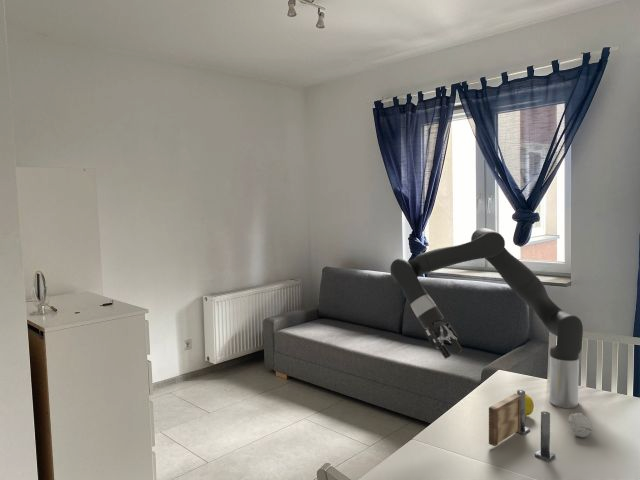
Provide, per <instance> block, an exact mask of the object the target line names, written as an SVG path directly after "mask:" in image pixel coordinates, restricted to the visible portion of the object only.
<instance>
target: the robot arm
mask: <svg viewBox="0 0 640 480" xmlns="http://www.w3.org/2000/svg"><path fill="white" fill-rule="evenodd" d="M505 246H506V241H505V239H504V237H503V236H502V234H501V233H499V232H498V231H496V230H494V229H491V228H487V227H486V228H485V227H482V228H478V229H475V230H474V232H473V233H472V234H471V237H470V241H468V242H465V243H462V244H458V245H451V246H445V247H439V248H434V249H432V250H428V251H426V252H422V253H420V254H418V255H416V256H415V257H414V258H413V259H411V260H406V259H404V258H397V259H395V260H392V262H391V264H390V268H389V270H390V271H389V272H390V277H391V279H392V280H393V281H394V282H396V283H398V285H399V287H400V288H401V290H402V292H403V295H404V298H405V299H406V300H407V302H408V304H409V305H410V308H411V309H412V311H413V313H414V315H415V317H416V318H417V320H418V321H419V323H420V324H421V326H422V328H423V329H425V330H424V335H425V336H426V338H427V339H428V342H429V343H430V344H431V346H432V348H433V349H435V348H436V349H438V350H439V351H440V353H441V354H442V356H443V358H444V359H448V358H450V357H451V356H452V354H451V352H450V351H449V349H448V348H447V345H445V342H444V340H445V341H448V342H449V343H450V345H451V347H452V348H453V350H454V351H455V352H456V354H460V353H461V352H462V351H463V347H462V346H461V345H460V343H459V342H458V338H459V335H458V333H457V332H456V330H455V329H454V327H453V326H452V324H451V323H450V322H449V321H447V322H445V323H444V322H443V319H444V315H443V313H442V312H441V311H440V309H439V308H438V305H436V302H435V301H434V300H433V298H432V297H431V296H430V294H428V292H427V290H426V289H425V288H424V286H423V285H422V284H421V282H420V280H419V279H418V277H421V276H422V275H425V274H429V273H431V272H435V271H438V270H441V269H443V268H446V267H447V268H448V267H451V266H454V265H458V264H461V263H465V262H470V261H475V260H482V259H485V260H486V261H487V262H489V264H491V266H492V267H493V268H494V269H495V271H497V273H498V275H499V276H501V278H502V279H503V280H504V282H505V283H506V284H507V286H509V288H510V289H511V290H512V291H513V293H515V294H516V295H517V297H518V298H520V299H521V301H523V302H524V303H525V305H527V306H528V307H529V308H530V309H531V310H532V312H533V311H534V313H535V314H536V315H537V316H538V318H539V319H540V321H541V322H542V324H543V325H544V326H545V328H546V329H547V330H548V331H549V332H550V333H551V334H552V335H554V336H556V345H552V346H551V347H550V350H549V396H548V397H549V402H550V404H551V405H554V406H556V407H559V408H564V409H574V408H577V407H578V406H579V375H580V374H579V370H580V369H579V367H580V362H579V361H580V353H581V351H582V347H583V337H584V327H583V323H582V320H581V319H580V317H578V316H577V315H574V314H572V313H569V312H566V311H564V310H563V309H562V308H560V307H559V306H558V305H557V304H556V303H554V302H553V300H552V299H551V298H550V297H549V295H548V293H547V290H546V287H545V285H544V284H543V282H542V281H541V280H540V278H539V277H538V276H537V274H535V273H534V272H533V271H532V270H531V269H530V268H529V267H528V265H527V266H526V264H524V263H523V262H522V261H520V259H518V258H516V257H515V255H513V254H512V253H511V252H509V251H508V249H507V248H506V247H505Z"/></svg>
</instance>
